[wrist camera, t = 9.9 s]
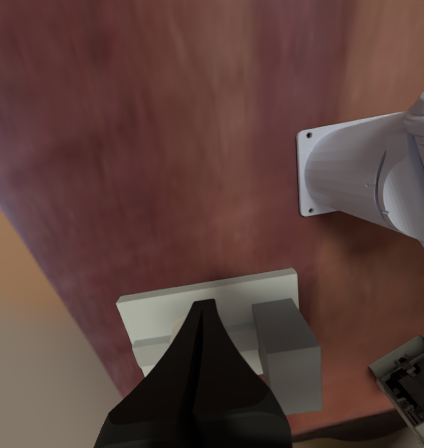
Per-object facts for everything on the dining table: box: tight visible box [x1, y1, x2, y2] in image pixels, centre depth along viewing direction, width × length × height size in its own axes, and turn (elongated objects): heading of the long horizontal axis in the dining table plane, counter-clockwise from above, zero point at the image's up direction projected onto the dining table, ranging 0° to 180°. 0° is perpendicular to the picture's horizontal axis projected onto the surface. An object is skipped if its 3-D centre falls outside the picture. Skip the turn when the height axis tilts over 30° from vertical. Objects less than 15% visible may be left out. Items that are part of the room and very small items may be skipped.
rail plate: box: [116, 268, 322, 415], centre depth 21 cm, size 20×14×7 cm
